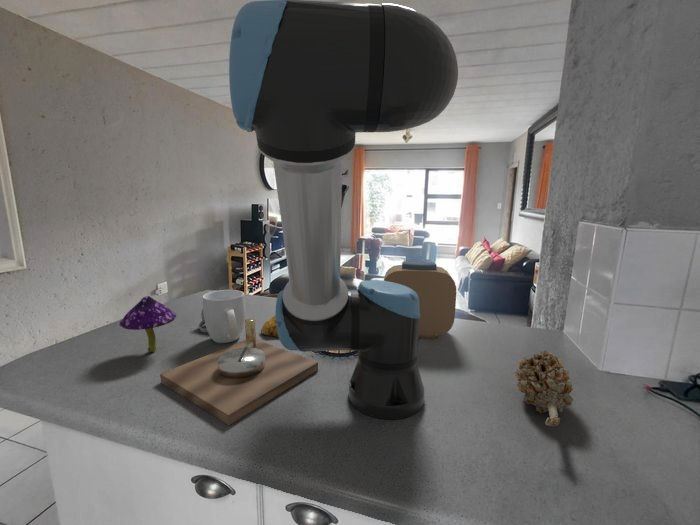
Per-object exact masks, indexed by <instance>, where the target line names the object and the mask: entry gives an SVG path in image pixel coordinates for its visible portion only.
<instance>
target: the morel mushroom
mask: <svg viewBox="0 0 700 525" xmlns="http://www.w3.org/2000/svg"><path fill="white" fill-rule="evenodd" d="M517 362H518V365H517V368H518V369H517V368H516V369H517V370H516V371H515V372H514V377H516V380H517V381H518V382H517V383H516V386H517V387H518V391H519V392H521V393H524V394H523V395H524V397H523V398H524V400H525V401H526V403H527V404H530V405H533V406H535V412H539V414H544V413H546V412H548V415H549V417H547V418H546V420H545V426H549V427H556V426H559V424H560V421H561V417H559V413H558V411H559V412H560V413H562V412H563V408H564V407H566V406H567V407H568V406H571V405H573V403H572V402H573V401H575V399H574V397H573V396H571V395H570V393H572V391H573V390H574V388H573V383H572V382H570V381H569V380H570V379H571V375H570V374H569V369H567V368H566V369H565V368H564V364H563V361H562V359H560V358H558V357H556V355H555V354H554V353H552V352H550V351H548V350H543V351H542V350H541V351H540V352H539V353H533V356H531V357H530V358H526V357H524V356H523V357H522V358H521V359H519V361H517Z"/></svg>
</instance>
